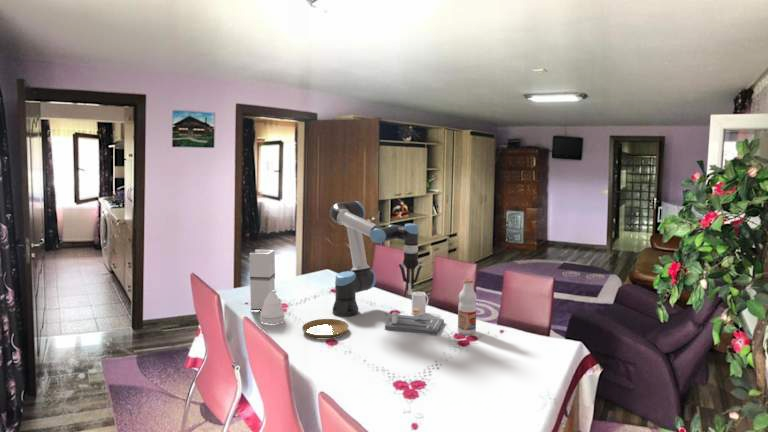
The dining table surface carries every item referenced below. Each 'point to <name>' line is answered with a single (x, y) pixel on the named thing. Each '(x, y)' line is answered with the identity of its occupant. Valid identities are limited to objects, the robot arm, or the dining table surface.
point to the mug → (419, 302)
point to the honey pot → (272, 309)
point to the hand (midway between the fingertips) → (410, 294)
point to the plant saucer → (337, 325)
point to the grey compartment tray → (416, 325)
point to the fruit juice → (467, 309)
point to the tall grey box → (261, 276)
